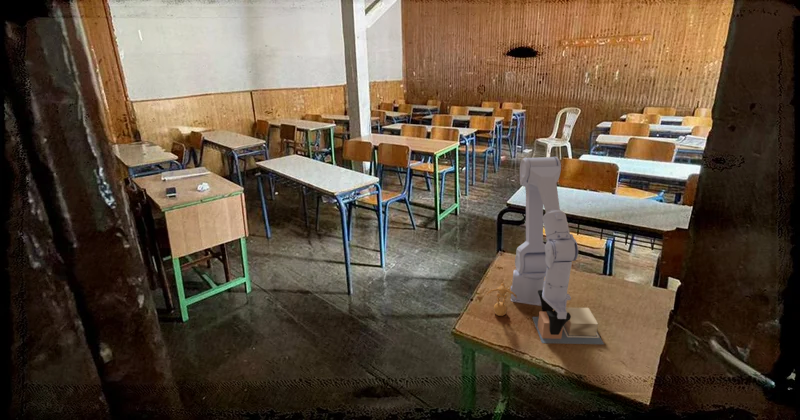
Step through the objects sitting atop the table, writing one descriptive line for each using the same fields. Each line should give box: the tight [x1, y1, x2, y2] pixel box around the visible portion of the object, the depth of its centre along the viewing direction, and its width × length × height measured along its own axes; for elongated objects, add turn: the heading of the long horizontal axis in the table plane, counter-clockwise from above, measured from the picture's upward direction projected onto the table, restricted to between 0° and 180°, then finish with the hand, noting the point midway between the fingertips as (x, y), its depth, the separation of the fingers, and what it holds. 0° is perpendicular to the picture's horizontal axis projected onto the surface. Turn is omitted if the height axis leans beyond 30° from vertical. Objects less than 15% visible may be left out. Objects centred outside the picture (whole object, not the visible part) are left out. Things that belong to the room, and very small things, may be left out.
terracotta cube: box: [538, 310, 563, 339], centre depth 112 cm, size 5×5×5 cm
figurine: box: [486, 282, 517, 317], centre depth 118 cm, size 8×6×12 cm
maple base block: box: [564, 306, 599, 336], centre depth 114 cm, size 7×7×4 cm
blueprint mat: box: [532, 316, 605, 345], centre depth 114 cm, size 16×11×1 cm
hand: (550, 324), depth 112 cm, fingers open, 7 cm apart
